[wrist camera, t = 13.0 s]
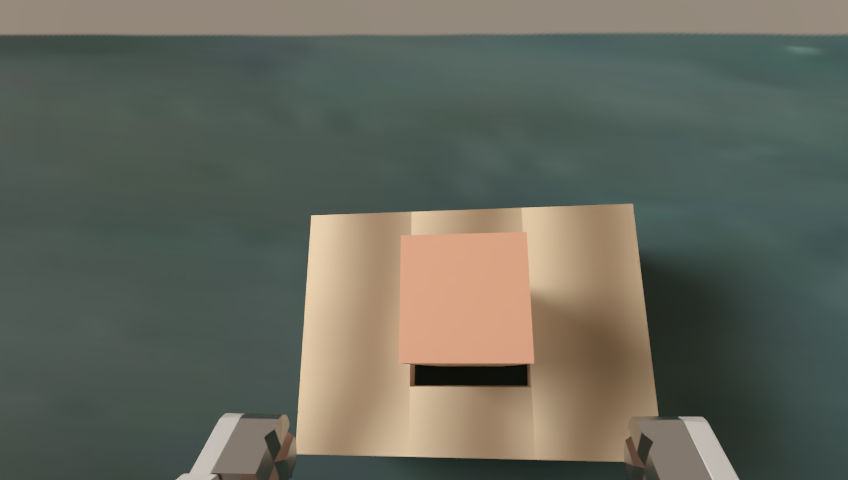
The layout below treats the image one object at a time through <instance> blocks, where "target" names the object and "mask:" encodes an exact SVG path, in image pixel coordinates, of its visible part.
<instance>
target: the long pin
mask: <svg viewBox="0 0 848 480" xmlns="http://www.w3.org/2000/svg"><path fill="white" fill-rule="evenodd" d="M399 363H401V364H415V365H429V366H512V365H523V364H534V349H533V332H532V315H531V297H530V280H529V263H528V246H527V232H505V233H469V234H433V235H401V255H400V319H399Z"/></svg>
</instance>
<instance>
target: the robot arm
mask: <svg viewBox="0 0 848 480" xmlns="http://www.w3.org/2000/svg"><path fill="white" fill-rule="evenodd" d="M289 425H290V423H289V420H288V418H287V415H276V414H248V413H225V414H224V415H223V416H222V417H221V418H220V419H219V421H218V422H217V424H216V426H215V428H214V430H213V432H212V433H211V435H210V437H209V439H208V441H207V443H206V444H205V446H204V448H203V450H202V452H201V453H200V455H199V457H198V459H197V461H196V463H195V464H194V466H193V468H192V470H191V472H190V473H189V474H183V475H181V476H180V477H179V478H177V479H176V480H288V479H289V478H290V477H291V476H292V473H293V470H294V467H295V462H296V454H297V449H296V441H295V438H294V436H293V435H292V434H290V433H289V432H288V428H289ZM628 429H629V432H630V434H631V436H630V437H629V438H627V439H626V440H625V445H624V463H625V467H626V472H627V476H628V479H629V480H739V478H738V476H737V474H736V472H735V470H734V469H733V467H732V465H731V463H730V461H729V460H728V458H727V456H726V454H725V452H724V450H723V449H722V447H721V445H720V443H719V441H718V440H717V438H716V436H715V434H714V432H713V430H712V429H711V427H710V425H709V423H708V421H707V420H706V419H705V418H703V417H677V416H632V417H631V419H630V420H629V425H628Z"/></svg>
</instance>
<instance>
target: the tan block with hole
mask: <svg viewBox="0 0 848 480" xmlns="http://www.w3.org/2000/svg"><path fill="white" fill-rule="evenodd" d="M505 232H527V246H528V263H529V280H530V297H531V315H532V332H533V349H534V364H527V379H528V386H467V385H415V364H401V363H399V319H400V255H401V235H433V234H469V233H505ZM632 416H658V407H657V399H656V391H655V383H654V375H653V366H652V358H651V350H650V342H649V334H648V325H647V317H646V309H645V301H644V293H643V285H642V276H641V268H640V260H639V252H638V244H637V235H636V227H635V219H634V211H633V204H615V205H587V206H560V207H532V208H505V209H477V210H450V211H422V212H395V213H367V214H340V215H312V216H311V229H310V244H309V258H308V273H307V287H306V302H305V316H304V331H303V346H302V360H301V375H300V389H299V404H298V419H297V433H296V449H297V454H316V455H357V456H399V457H441V458H483V459H524V460H566V461H608V462H624V445H625V440H626V439H627V438H629V437H630V436H631V434H630V432H629V429H628V425H629V420H630V419H631V417H632Z"/></svg>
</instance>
